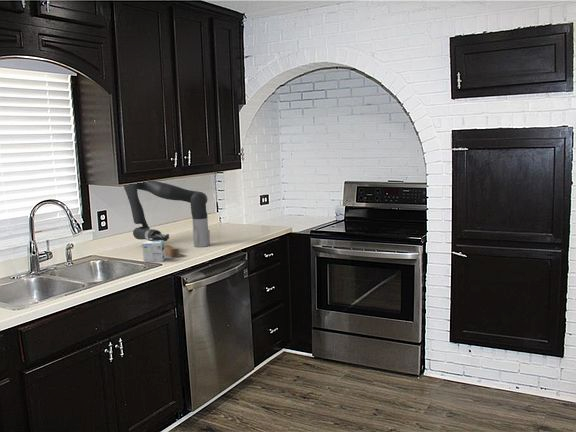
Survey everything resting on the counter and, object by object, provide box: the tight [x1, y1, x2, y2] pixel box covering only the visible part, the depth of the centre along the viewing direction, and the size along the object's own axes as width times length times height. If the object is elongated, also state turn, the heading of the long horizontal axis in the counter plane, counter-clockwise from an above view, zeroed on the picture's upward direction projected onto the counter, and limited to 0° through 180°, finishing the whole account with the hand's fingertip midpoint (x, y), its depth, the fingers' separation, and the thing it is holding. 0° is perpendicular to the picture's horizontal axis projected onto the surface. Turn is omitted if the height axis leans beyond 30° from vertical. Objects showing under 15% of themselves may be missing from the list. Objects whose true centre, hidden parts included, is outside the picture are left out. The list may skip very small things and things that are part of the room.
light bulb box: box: [142, 240, 166, 263], centre depth 312 cm, size 11×7×11 cm, turn 92°
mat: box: [164, 252, 187, 261], centre depth 323 cm, size 12×14×1 cm
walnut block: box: [164, 245, 180, 257], centre depth 324 cm, size 4×4×13 cm
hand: (166, 239), depth 326 cm, fingers closed
